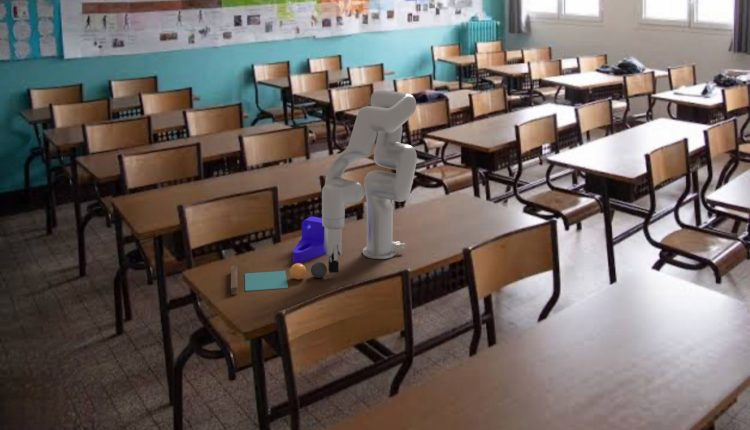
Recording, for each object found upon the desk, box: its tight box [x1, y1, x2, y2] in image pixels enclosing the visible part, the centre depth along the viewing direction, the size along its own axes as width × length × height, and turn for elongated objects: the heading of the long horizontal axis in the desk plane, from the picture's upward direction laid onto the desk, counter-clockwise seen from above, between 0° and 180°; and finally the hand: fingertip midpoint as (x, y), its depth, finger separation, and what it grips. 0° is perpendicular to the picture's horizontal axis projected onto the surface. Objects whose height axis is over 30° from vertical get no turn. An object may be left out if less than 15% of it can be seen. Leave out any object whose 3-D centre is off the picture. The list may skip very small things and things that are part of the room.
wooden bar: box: [230, 265, 239, 296], centre depth 243 cm, size 2×18×2 cm, turn 10°
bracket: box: [292, 215, 326, 264], centre depth 266 cm, size 18×11×12 cm, turn 154°
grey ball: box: [310, 261, 328, 279], centre depth 248 cm, size 6×6×6 cm
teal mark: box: [244, 270, 289, 292], centre depth 245 cm, size 14×14×1 cm
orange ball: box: [289, 263, 307, 280], centre depth 246 cm, size 6×6×6 cm
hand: (333, 271), depth 248 cm, fingers closed
